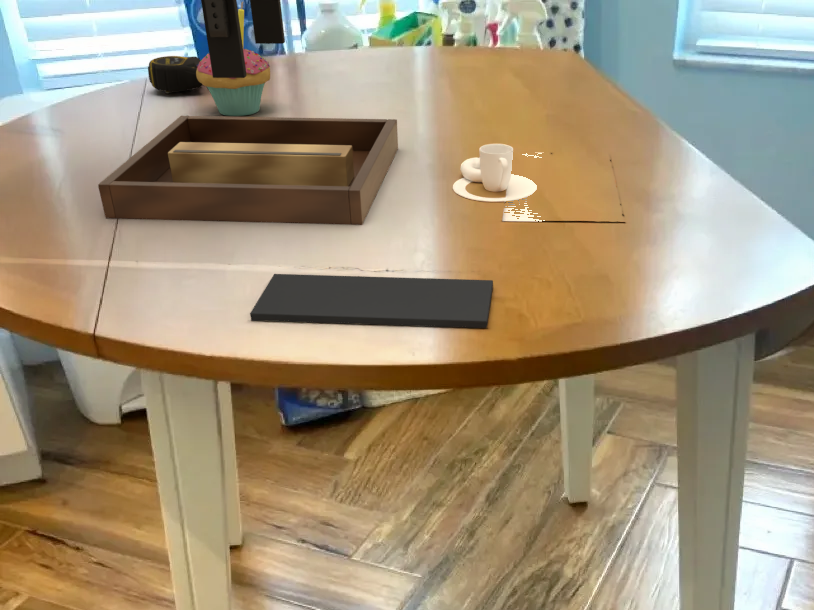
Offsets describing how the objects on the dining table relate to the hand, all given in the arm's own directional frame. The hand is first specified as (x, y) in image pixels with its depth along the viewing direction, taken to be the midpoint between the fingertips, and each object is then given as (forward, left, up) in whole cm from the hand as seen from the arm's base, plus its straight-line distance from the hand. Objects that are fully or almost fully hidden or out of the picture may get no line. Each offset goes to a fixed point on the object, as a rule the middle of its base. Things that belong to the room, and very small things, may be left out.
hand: (251, 59), depth 87 cm
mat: (+15, -26, -12) cm, 32 cm away
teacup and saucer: (+24, +2, -12) cm, 27 cm away
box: (0, 0, -12) cm, 12 cm away
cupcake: (-10, +26, -12) cm, 30 cm away
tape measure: (-20, +36, -12) cm, 43 cm away
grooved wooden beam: (0, 0, -11) cm, 11 cm away
